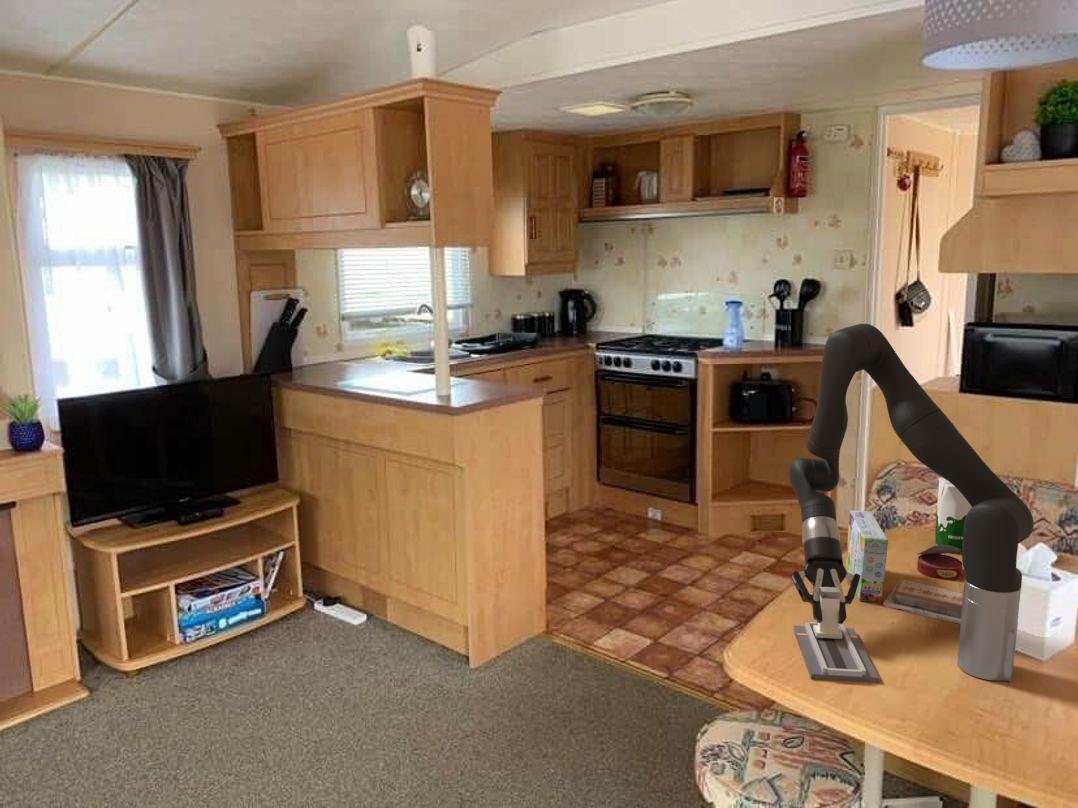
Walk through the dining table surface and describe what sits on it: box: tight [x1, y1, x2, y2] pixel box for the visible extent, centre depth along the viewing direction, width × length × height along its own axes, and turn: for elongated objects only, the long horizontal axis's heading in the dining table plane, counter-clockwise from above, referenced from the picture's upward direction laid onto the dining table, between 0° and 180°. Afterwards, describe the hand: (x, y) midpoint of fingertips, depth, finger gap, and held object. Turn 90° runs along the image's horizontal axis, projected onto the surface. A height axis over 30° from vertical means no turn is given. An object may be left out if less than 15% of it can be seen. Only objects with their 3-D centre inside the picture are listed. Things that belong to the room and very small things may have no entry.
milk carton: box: [934, 477, 972, 554], centre depth 216 cm, size 9×9×20 cm
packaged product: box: [882, 579, 963, 625], centre depth 183 cm, size 18×5×10 cm
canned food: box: [916, 545, 963, 581], centre depth 202 cm, size 11×10×10 cm
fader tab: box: [813, 587, 842, 639], centre depth 168 cm, size 5×4×10 cm
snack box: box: [845, 509, 889, 603], centre depth 195 cm, size 21×6×15 cm, turn 168°
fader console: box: [792, 621, 880, 684], centre depth 163 cm, size 12×20×2 cm, turn 172°
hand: (830, 621), depth 166 cm, fingers closed on fader tab, 3 cm apart
